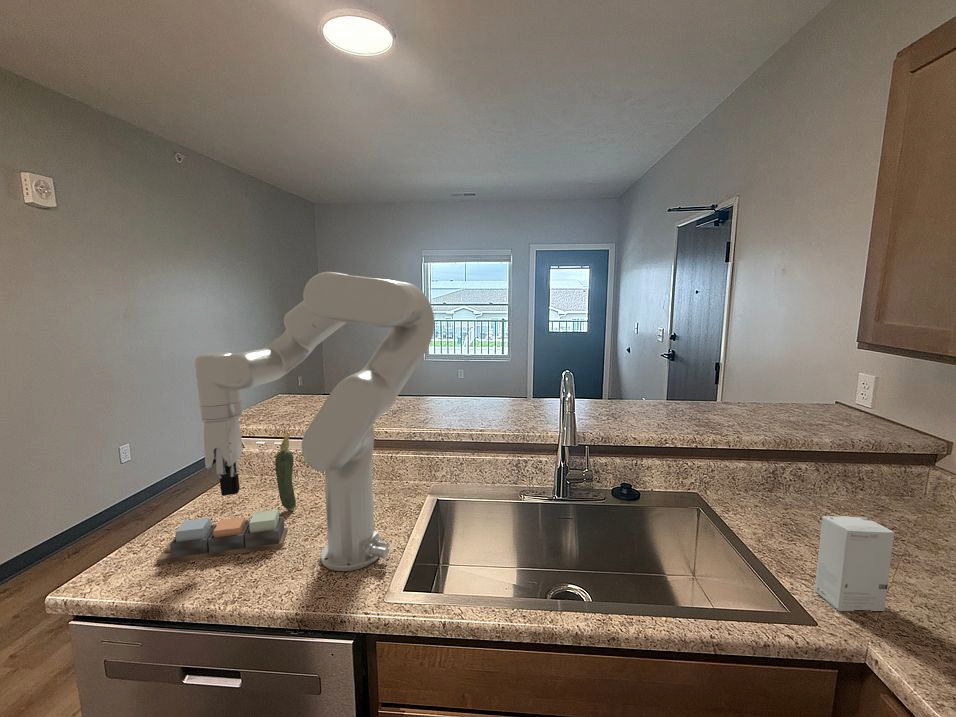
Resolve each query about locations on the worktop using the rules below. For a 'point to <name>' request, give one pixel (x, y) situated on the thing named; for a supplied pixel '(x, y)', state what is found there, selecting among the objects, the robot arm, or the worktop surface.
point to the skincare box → (854, 563)
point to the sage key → (264, 521)
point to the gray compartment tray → (224, 544)
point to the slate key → (193, 529)
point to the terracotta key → (230, 527)
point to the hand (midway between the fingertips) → (230, 493)
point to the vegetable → (285, 475)
